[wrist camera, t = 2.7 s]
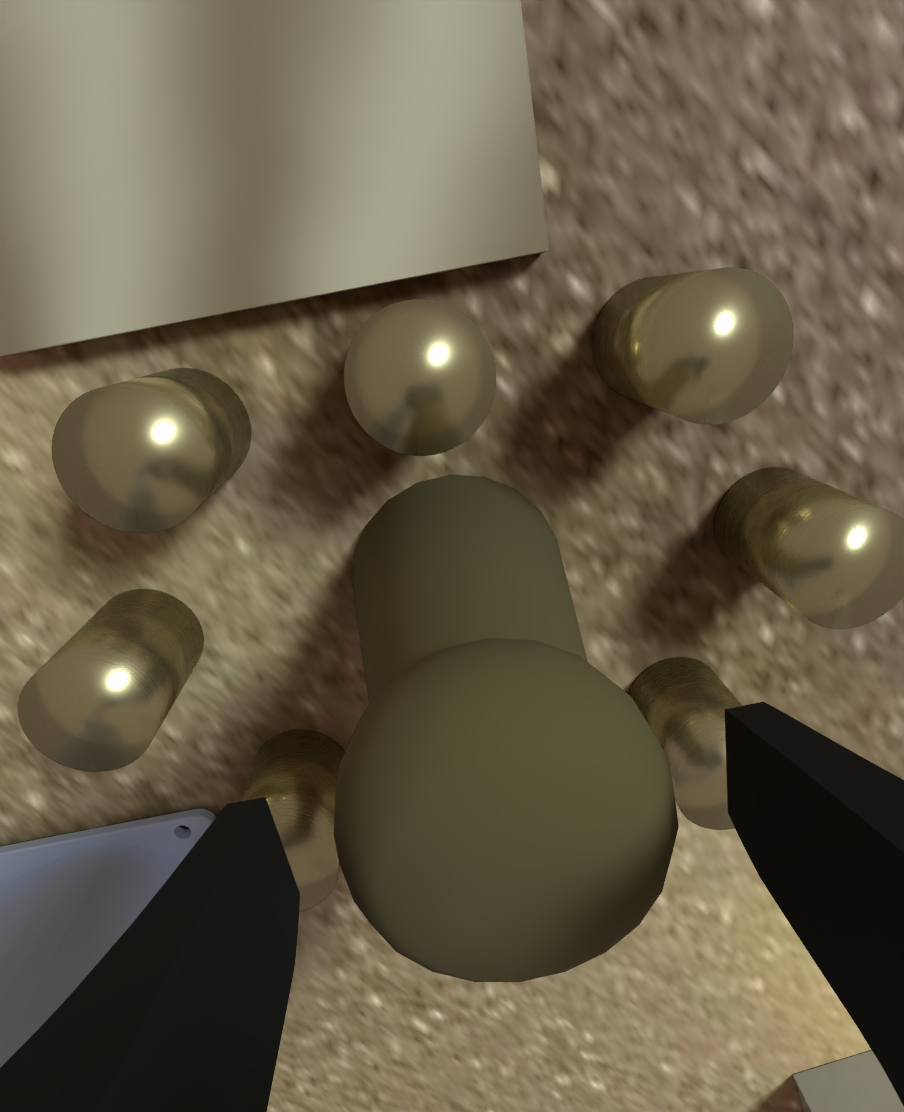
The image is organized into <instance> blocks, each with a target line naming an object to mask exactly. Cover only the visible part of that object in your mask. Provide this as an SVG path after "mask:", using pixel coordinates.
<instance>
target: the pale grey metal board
mask: <svg viewBox="0 0 904 1112" xmlns="http://www.w3.org/2000/svg"><path fill="white" fill-rule="evenodd" d="M546 251H549V246H548V238H547V229H546V220H545V211H544V203H543V194H542V185H541V176H540V167H539V159H538V150H537V141H536V132H535V123H534V115H533V106H532V97H531V88H530V80H529V71H528V62H527V53H526V44H525V36H524V27H523V18H522V9H521V0H0V356H6V355H15V354H21V353H26V352H31V351H37V350H42V349H47V348H52V347H57V346H62V345H68V344H73V343H78V342H83V341H88V340H94V339H99V338H104V337H109V336H114V335H120V334H125V333H130V332H135V331H140V330H146V329H151V328H156V327H161V326H166V325H172V324H177V323H182V322H187V321H192V320H197V319H203V318H208V317H213V316H218V315H223V314H229V313H234V312H239V311H244V310H249V309H255V308H260V307H265V306H270V305H275V304H281V303H286V302H291V301H296V300H301V299H307V298H312V297H317V296H322V295H327V294H332V293H338V292H343V291H348V290H353V289H358V288H364V287H369V286H374V285H379V284H384V283H390V282H395V281H400V280H405V279H410V278H416V277H421V276H426V275H431V274H436V273H442V272H447V271H452V270H457V269H462V268H467V267H473V266H478V265H483V264H488V263H493V262H499V261H504V260H509V259H514V258H519V257H525V256H530V255H535V254H540V253H544V252H546Z"/></svg>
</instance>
